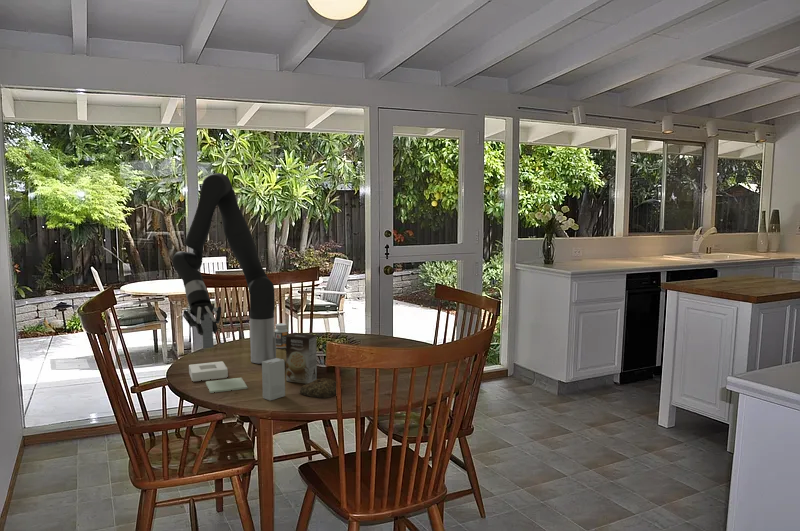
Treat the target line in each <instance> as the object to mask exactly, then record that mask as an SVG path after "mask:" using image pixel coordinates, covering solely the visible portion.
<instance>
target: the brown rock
mask: <svg viewBox="0 0 800 531" xmlns="http://www.w3.org/2000/svg"><path fill="white" fill-rule="evenodd" d="M336 382H337V381H336V380H333V379H331V378H327V377H321V378H317V379H316V380H314V381H313V382H310V383H308V384H303V385H301V387H300V388H299V394H300V395H304V396H306V397H312V398H319V399H327V398H331V396H332V397H334V396H336V395H337V394H336ZM333 395H334V396H333Z"/></svg>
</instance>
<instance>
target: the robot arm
mask: <svg viewBox="0 0 800 531" xmlns="http://www.w3.org/2000/svg"><path fill="white" fill-rule="evenodd" d="M201 184H202V185H201V188H200V189H201V190H200V194H199V199H198V204H197V208H196V211H195V214H194V215H193V216H194V217H193V219H192V221H191V224H190V226H189V229H188V232H187V234H186V237H185V240H184V244H185V246H186V247H188V248H190V249H192V252H188V251H183V250H182V251H181V250H180V251H176V252H175V254H174V255H173V256H172V265H173V268H174V270H175V271H176V273H177V274H178V276H179V277H180V278H181V280H182V282H183V287H184V289H185V297H186V300H187V302H188V306H189V309H188V310H186V309H185V310H184V311H183V313H182V317H183V318H184V320H185V321H186V322H187V324H188V325H189V326H190V327H196V331H197V334H198V335H199V336H201V335H203V329H202V325H201V319H203V315H202V313H205V312H208V313H209V314H210V318H211V319H212V324H213V335H214V334H217V332H218V326H217V325H218V324H220V321H221V316H222V307H221V306H218V307H215V306H213V305H212V302H211V299H210V295H209V293H208V289H207V286H206V284H205V282H204V278H203V275H202V273H201V272H200V269H201V267H202V265H203V254H204V246H205V243H206V241H207V239H208V236H209V233H210V231H211V226H212V220H213V216H214V213H215V210H216V208H217V207H218V209H219V212H220V216H221V221H222V222H221V223H222V228H223V233H224V235H225V239H226V241H227V243H228V245H229V248H230V249H231V252H232V254H233V256H234V257H235V259H236V261H237V262H238V264H239V266H240V268H241V270H242V272H243V275H244V278H245V281H246V284H247V288H248V292H249V337H250V338H249V339H250V340H249V342H250V362H251V363H253V364H262V361H267V360H271V359H275V358H277V348H276V337H275V309H276V308H275V305H276V304H275V301H276V300H275V286H274V283H273V282H272V281H271V279H269V277H268V275H267V273H266V272H265V270H264V268H263V265H262V264H261V261H260V258H259V254H258V250H257V246H256V243H255V240H254V237H253V235H252V233H251V230H250V228H249V226H248V224H247V221H246V219H245V217H244V215H243V212H242V210H241V208H240V207H239V204H238V201H237V198H236V194H235V191H234V188H233V185H232V182H231V180H230V178H229V177H228V176H227V175H225V174H224V173H221V172H215V173H212V174H208V175H207V176H206V177H205V178H204V179H203V180H202V183H201ZM213 312H214V313H215V315H216V317H214V313H213ZM192 316H193V317H194V318H195V319H194V318H193V317H192Z"/></svg>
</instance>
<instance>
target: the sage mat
mask: <svg viewBox="0 0 800 531" xmlns="http://www.w3.org/2000/svg"><path fill="white" fill-rule="evenodd" d="M205 385H206V387H207V389H209V390H208V391H209V394H213V393H214V392H215V393H223V392H231V390H232V391H238V390H246V389H247V390H248V386H247V384H246V382H245V381H244V380H243V377H235V378H234V377H233V378H223V379H218V380H217V379H214V380H205Z"/></svg>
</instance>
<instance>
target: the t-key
mask: <svg viewBox="0 0 800 531" xmlns="http://www.w3.org/2000/svg"><path fill="white" fill-rule="evenodd" d="M202 315H203V319H200V324H201V325H202V329H203V335H200V336H201V347H202V349H209V348H214V345H215V344H214V333H213V324H212V319H211V318H210V314H209V313H208V312H205V313H202Z"/></svg>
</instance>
